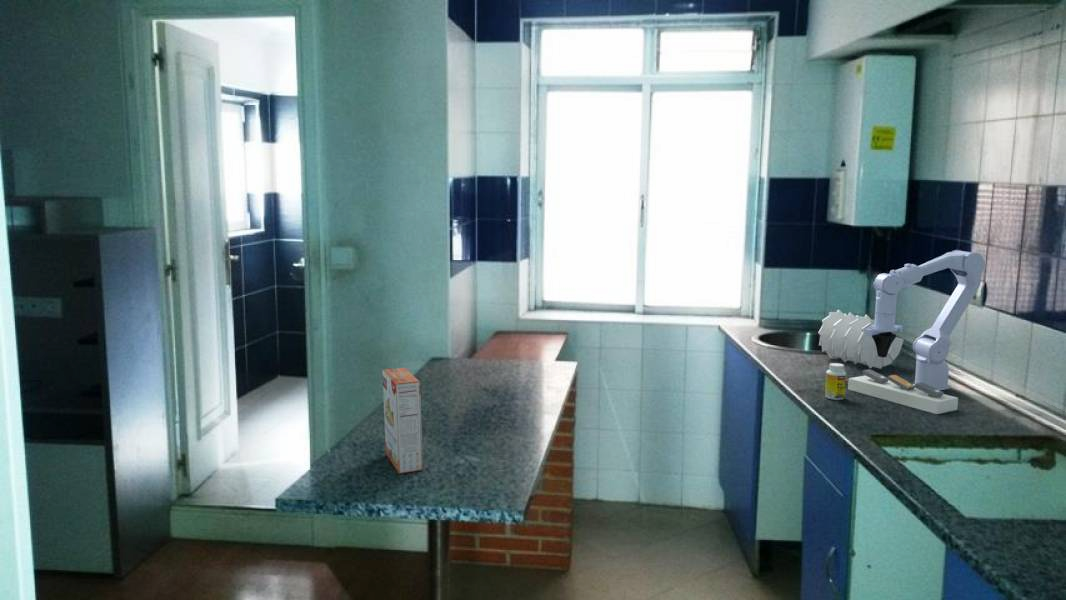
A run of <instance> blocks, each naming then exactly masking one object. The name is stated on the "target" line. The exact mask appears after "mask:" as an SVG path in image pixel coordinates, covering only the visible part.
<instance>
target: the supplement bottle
mask: <svg viewBox="0 0 1066 600" xmlns="http://www.w3.org/2000/svg"><path fill="white" fill-rule="evenodd" d="M828 368H829V369H827V370H826V372H825V373H826V374H825V389H824V390H825V392H824V397H825V398H826V399H829V400H832V401H841V400H844V399H845V397H846V385H847V383H846V379H847V372H846V371H845V364H843V363H835V362H832V363H829V367H828Z"/></svg>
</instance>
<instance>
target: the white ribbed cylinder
mask: <svg viewBox="0 0 1066 600" xmlns="http://www.w3.org/2000/svg"><path fill="white" fill-rule="evenodd" d="M874 321H875V319H872V318H870V316H869V315H868V314H865V315H864V316H859V315H858V314H857V315H854V314H853V313H852V312H848V314H847V313H844V312H842V311H841V309H837V310H836V311H829V312H828V316H826V317H825V318H823V319H821V323H822V325H821V327H820V329H819V331H818V332H817V333H818V334H819V343H818V346H821V352H823V353H824V352H826V354H827V355H828V356H829V358H830V359H832V358H834V357H836V358H839V359H841V361H842V362H843V363H846V362H847V361H849V362H850V361H851V362H853V363H854V364H855V365H856V364H858V363H859V364H862V365H864V366H868V368H869V369H870V370H872V368H877V369H879V370H880V369H881V370H882V368H884V367H886V366H889V365H891V364H893V361H894V360H895V359H896V358H897V357H898V356H899V355H900V353H901V350H902V346H903V343H904V341H905V340H904V339H903V338H901V337H897V336H896V338H895V339H894V341H893V342H892V344H891V346H890V348H889V351H888V354H887V356H886V357H884V358H883V357H879V356H878V354H877V349H876V345H875V342H874V340H873V338H872V336H868V335H865V329H867V328H870V327H872V325H874Z"/></svg>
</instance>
